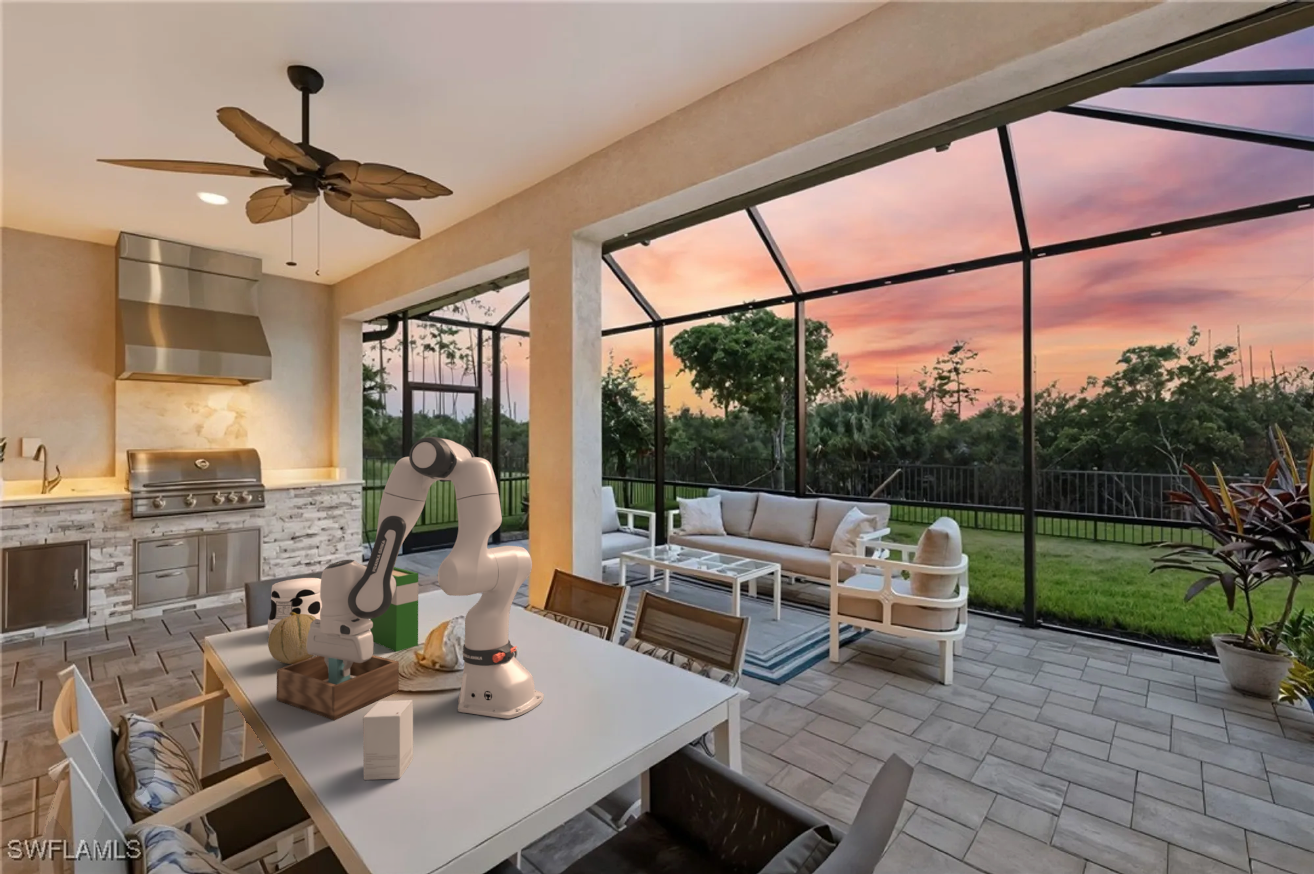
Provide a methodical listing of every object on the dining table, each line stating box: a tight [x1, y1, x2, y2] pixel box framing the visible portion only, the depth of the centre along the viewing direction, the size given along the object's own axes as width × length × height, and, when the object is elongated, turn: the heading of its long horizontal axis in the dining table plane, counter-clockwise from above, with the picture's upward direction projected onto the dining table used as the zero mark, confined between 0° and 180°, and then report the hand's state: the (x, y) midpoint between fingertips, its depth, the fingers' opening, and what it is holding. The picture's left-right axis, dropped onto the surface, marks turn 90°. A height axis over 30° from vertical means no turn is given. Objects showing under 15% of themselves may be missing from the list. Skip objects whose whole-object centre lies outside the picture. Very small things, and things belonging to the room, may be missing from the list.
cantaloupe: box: [267, 612, 316, 665], centre depth 173 cm, size 15×15×15 cm
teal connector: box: [329, 658, 350, 685], centre depth 150 cm, size 3×4×8 cm
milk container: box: [267, 577, 322, 634], centre depth 199 cm, size 17×17×18 cm
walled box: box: [276, 654, 400, 721], centre depth 149 cm, size 24×18×8 cm
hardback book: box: [369, 566, 419, 653], centre depth 190 cm, size 18×7×24 cm, turn 52°
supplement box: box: [362, 699, 414, 781], centre depth 115 cm, size 7×7×13 cm
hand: (339, 674), depth 149 cm, fingers closed on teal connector, 3 cm apart
